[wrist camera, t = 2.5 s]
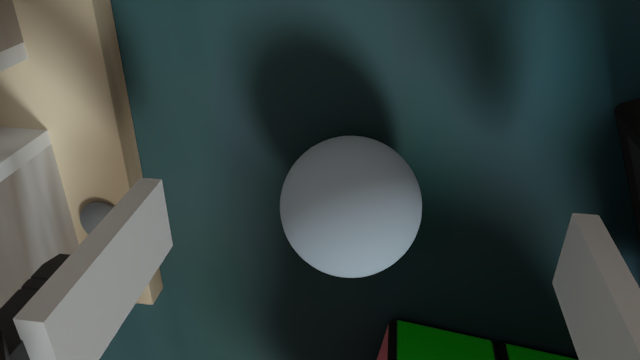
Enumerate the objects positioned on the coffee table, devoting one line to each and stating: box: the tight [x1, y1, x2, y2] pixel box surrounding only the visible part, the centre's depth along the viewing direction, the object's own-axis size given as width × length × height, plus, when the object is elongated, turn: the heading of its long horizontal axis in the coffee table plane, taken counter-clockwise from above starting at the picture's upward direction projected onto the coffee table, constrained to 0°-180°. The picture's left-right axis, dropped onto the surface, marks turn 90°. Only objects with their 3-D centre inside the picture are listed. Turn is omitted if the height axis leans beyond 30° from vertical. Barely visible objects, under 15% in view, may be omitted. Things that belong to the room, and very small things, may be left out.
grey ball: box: [280, 136, 422, 278], centre depth 19 cm, size 5×5×5 cm
